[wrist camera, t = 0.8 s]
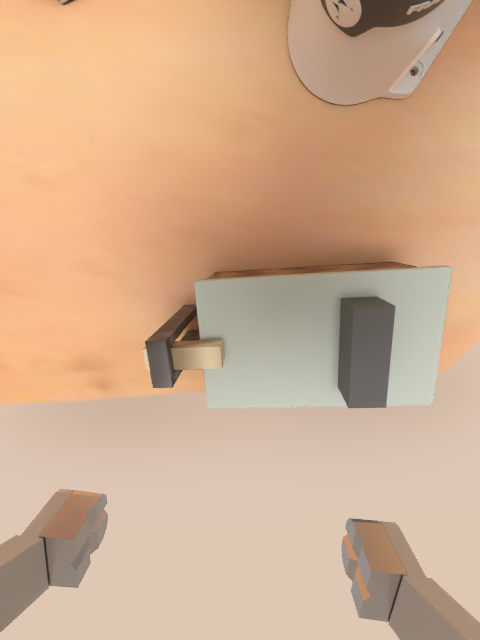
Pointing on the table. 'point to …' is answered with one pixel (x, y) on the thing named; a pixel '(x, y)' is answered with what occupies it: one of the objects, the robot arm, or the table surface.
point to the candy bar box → (64, 1)
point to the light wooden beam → (194, 355)
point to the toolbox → (176, 324)
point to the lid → (325, 337)
